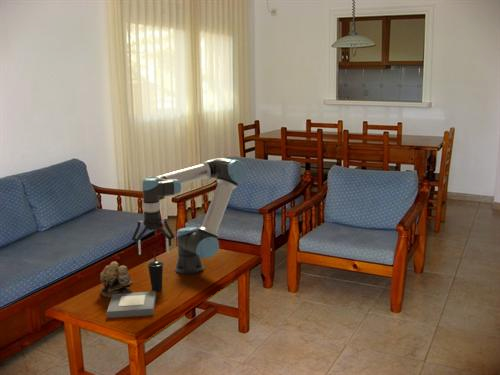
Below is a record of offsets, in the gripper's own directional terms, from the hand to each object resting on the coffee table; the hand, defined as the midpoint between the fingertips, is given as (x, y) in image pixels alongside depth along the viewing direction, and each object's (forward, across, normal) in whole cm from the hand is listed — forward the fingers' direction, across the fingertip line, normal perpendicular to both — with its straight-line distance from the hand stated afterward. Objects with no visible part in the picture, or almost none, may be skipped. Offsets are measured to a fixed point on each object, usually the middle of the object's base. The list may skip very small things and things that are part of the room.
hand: (154, 253), depth 267 cm
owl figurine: (+20, -19, -2) cm, 27 cm away
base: (+19, -10, -19) cm, 28 cm away
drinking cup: (+19, 0, 0) cm, 19 cm away
